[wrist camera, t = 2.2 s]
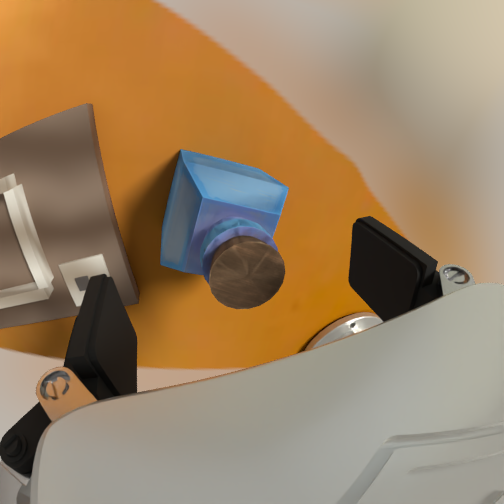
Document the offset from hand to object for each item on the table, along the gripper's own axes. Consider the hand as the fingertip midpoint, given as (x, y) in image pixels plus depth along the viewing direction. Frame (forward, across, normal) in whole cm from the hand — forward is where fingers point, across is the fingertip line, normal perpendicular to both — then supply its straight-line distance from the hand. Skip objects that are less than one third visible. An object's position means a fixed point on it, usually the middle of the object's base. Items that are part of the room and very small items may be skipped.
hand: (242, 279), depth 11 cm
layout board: (+13, +16, 0) cm, 21 cm away
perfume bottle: (+13, -1, +1) cm, 13 cm away
